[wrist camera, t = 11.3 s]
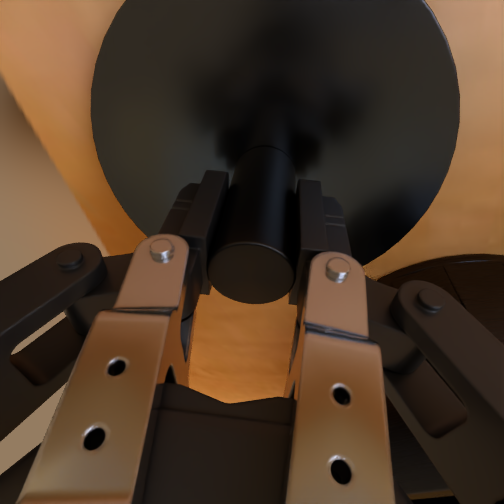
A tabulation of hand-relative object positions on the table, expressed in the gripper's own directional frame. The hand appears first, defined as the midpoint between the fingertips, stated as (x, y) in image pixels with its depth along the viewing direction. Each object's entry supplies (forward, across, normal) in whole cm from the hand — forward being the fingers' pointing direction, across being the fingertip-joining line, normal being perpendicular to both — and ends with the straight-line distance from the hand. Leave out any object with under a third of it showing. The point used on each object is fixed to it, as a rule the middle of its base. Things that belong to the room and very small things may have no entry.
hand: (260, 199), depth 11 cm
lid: (+2, 0, 0) cm, 2 cm away
